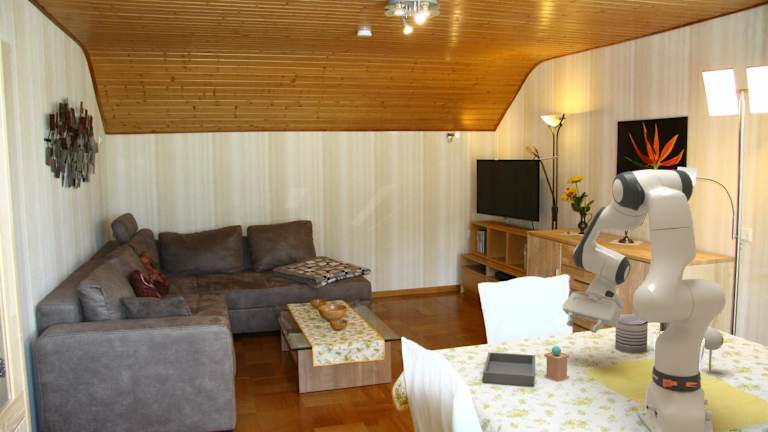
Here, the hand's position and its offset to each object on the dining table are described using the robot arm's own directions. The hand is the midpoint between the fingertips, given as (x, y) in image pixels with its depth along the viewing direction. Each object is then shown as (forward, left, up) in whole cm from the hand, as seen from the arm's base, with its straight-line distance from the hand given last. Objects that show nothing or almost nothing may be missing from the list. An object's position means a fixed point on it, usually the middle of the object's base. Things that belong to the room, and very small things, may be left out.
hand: (580, 328), depth 213 cm
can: (+25, -19, -14) cm, 35 cm away
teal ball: (-9, +8, -5) cm, 13 cm away
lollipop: (+5, -41, -14) cm, 44 cm away
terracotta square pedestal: (-9, +8, -14) cm, 19 cm away
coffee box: (+15, -31, -14) cm, 37 cm away
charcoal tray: (-9, +23, -14) cm, 28 cm away
